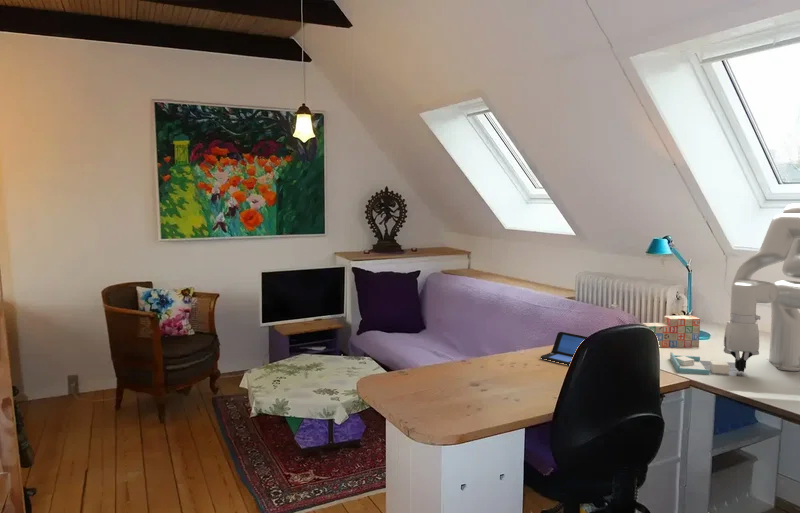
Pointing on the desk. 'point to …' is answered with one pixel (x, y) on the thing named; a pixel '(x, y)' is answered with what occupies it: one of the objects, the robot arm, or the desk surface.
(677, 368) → the box
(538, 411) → the desk surface
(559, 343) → the handheld game console
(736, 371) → the plate
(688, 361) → the tile
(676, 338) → the stack of blocks
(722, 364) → the off-white rectangular block
